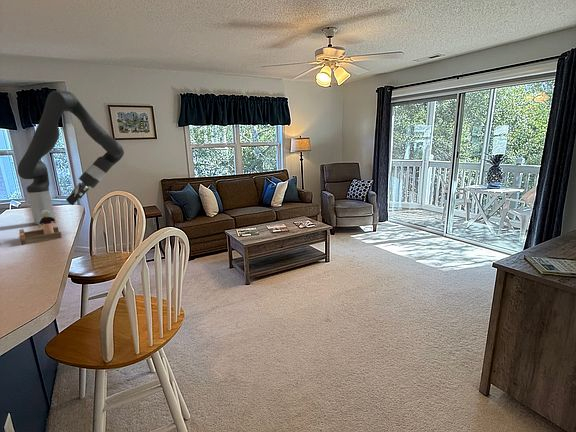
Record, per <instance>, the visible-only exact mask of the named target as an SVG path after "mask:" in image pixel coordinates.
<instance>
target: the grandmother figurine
mask: <svg viewBox="0 0 576 432" xmlns="http://www.w3.org/2000/svg"><path fill="white" fill-rule="evenodd" d="M49 214H50V211H48V210H43V211H41V215H42V216H43V217H44V218H42V219H41V221H40V222H39V225H38V226H37V228H42V227H43V228H42V229H44V234H50V233H54V231H53V223H54V224H57V223H58V222H57V220H55V219H56V218H55V219H54V218H52V217H49ZM51 221H53V222H51ZM42 225H43V226H42Z"/></svg>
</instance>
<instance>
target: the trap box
mask: <svg viewBox="0 0 576 432" xmlns="http://www.w3.org/2000/svg"><path fill="white" fill-rule="evenodd" d="M52 227H53V226H52ZM18 230H19V233H18V235H19V240H20V244H21V245H22V246H24V245H29V244H34V243H40V242H45V241H51V240H56V239H61V238H62V237H63V236H62V233H61V231H59V227H58V226H56V227H55V226H54V227H53V231H54V233H50V234H44V228H41V229H36V230H30V231H25V230H24V229H23V228H22V229H18Z"/></svg>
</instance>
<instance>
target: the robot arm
mask: <svg viewBox="0 0 576 432" xmlns="http://www.w3.org/2000/svg"><path fill="white" fill-rule="evenodd" d="M64 112H70V113H71V114H73V115H74V116H75V117H76V118H77V119H78V120H79V122H80V123H81V125H82V127H83V130H84V132H85V133H86V134H87V135H88V136H89V137H90V138H91V139H92V140H93V141H94V142H95V143H97V144H98V145H100V146H101V147H102V149H104V151H106V152H105V153H104V154H103V155H102V156H99V157H97V158H96V159H95V161H94V162H92V164H91V165H90V166H88V167H87V168H86V170H85V171H84V172H83V173H82V174H81V175H80V176H79V178H78V180H79V181H81V182H79V183H78V184H77V185H76V186H75V187H74V188H73V190H71V193H70V195H69V196H67V198H66V199H65V201H66V202H68V204H69V205H71V206H74V205H75V204H76V203H77V201H78V200H81V199H82V198H83V197H84V196H85V194H86V193H87V192H88V191H89V190H90V188H92V189H94V188H95V187H96V186H97V185H98V184H99V183H100V182H101V181H102V179H103V178H104V177H105V175H106V174H107V173H108V172H109V170H111V168H113V166H114V165H116V164H117V163H118V162H119V161H120V160H122V158H123V156H124V155H125V151H124V148H123V146H122V145H121V144H120V142H118V141H117V140H116V139H114V138H113V137H112V136H111V135H110V134H109V133H108V132H107V131H106V130H105V129H104V128H103V127H102V126H101V125H100V124H99V123H98V122H97V121H96V120H95V118H93V116H92V115H91V114H90V113H89V111H88V110H87V109H86V108H85V107H84V106H83V104H82V103H81V101H80V100H79V99H78V97H76V95H75V94H74V93H72V92H70V91H66V90H52V91H50V92H49V94H48V95H47V98H46V101H45V104H44V108H43V111H42V115H41V117H40V119H39V122H38V124H37V127H36V129H35V131H34V133H33V136H32V139H31V142H30V143H29V146H28V147H27V150H26V152H25V153H24V155H23V156H22V158H21V160H20V161H19V163H18V164H17V165H18V166H17V174H18V176H19V177H20V178H21V179H23V180H33V182H32V183H30V184H29V185H28V186H26V193H27V196H28V200H29V204H30V210H31V213H32V214H31V215H32V217H33V223H34V225H38V226H39V222H40V221H41V219H42V218H44V217H43V216H42V215H41V211H43V210H48V211H50V214H49V217H52V218H54V219H55V220H56V216H55V211H54V206H53V202H52V197H51V192H50V177H49V172H48V167H47V165H46V163H44V161H41V159H42V158H43V157H44V156H45V155H47V154H48V153H50V152H51V151H52V150H53V149H54V148H55V146H56V144H57V143H58V140H59V138H60V129H59V120H60V119H61V116H62V114H63V113H64ZM89 187H90V188H89ZM56 221H57V220H56ZM51 222H52V223H54V222H53V221H51Z"/></svg>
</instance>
